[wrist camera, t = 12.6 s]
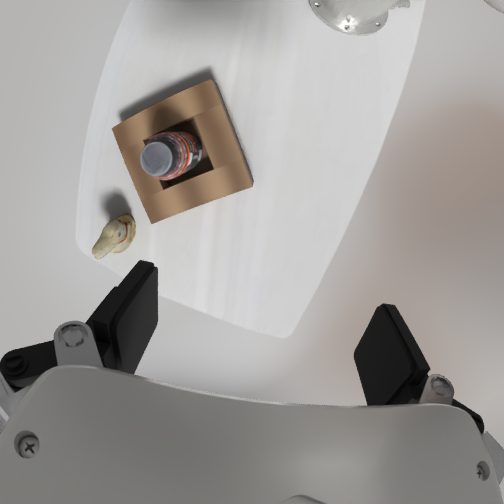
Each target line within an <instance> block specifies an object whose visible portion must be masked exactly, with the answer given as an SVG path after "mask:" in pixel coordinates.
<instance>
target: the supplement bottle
mask: <svg viewBox="0 0 504 504" xmlns="http://www.w3.org/2000/svg"><path fill="white" fill-rule="evenodd" d="M202 153H203V148H202V144H201V142H200V140H199V139H198V138H197V137H196V136H195V135H194V134H192V133H189V132H177V131H176V132H165V133H159V134H157V135H155V136H153V137H152V138H151V139H150V140H149V141H148V142H147V143H146V145H145V147H144V149H143V150H142V152H141V156H140V163H141V166H142V168H143V170H144V171H145V172H146V173H147V174H149V175H151V176H153V177H154V178H156V179H160V180H170V179H173V178H175V177H178V176H179V175H181V174H183V173H185V172H187V171H189V170H191V169H192V168H194V167H195V166H196V165H197V164H198V163H199V162H200V160H201V157H202Z"/></svg>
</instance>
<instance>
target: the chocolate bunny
mask: <svg viewBox="0 0 504 504" xmlns="http://www.w3.org/2000/svg"><path fill="white" fill-rule="evenodd" d="M135 228H136V225H135V221H134V219H133V218H132V217H131V216H130V215H128V214H127V215H122V216H121V217H118V218H116V219H114V220H112V221H110V222H109V223H108V224H107V225H106V226H105V227H104V229H103V231H102V234H101V236H100V238H99V239H98V241H97V242H96V243H95V245H94V247H93V249H92V254H93V255H95V259H97V260H98V259H101V258H102V257H104V256H105V255H106V254H108V253H109V252H112V253H120V252H122V251H124V250H125V249H127V248H128V247H129V245H130V244H131V242H132V241H133V238H134V236H135Z"/></svg>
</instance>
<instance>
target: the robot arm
mask: <svg viewBox="0 0 504 504" xmlns="http://www.w3.org/2000/svg"><path fill="white" fill-rule="evenodd" d="M309 1H310V5H311V7H312V9H313V10H314V12H315V13H316V15H317V16H318V17H319V18H320V19H321V20H322V21H323V22H325V23H326V24H327V25H329V26H330V27H332V28H334V29H336V30H338V31H340V32H343V33H346V34H350V35H357V36H362V35H370V34H373V33H375V32H377V31H378V30H380V29H381V28H382V27H383V26H384V25H385V23H386V21H387V18H388V10H389V9H394V8H395V7H400V8H409V7H410V2H409V0H309ZM484 1H485V2H486V3H488V4H489V5H490V6H491V7H493V8H494V9H496V10H497V11H499V12H502V13H504V0H484ZM316 6H318V7H316ZM376 25H377V26H376ZM345 28H346V29H347V30H346V29H345ZM157 322H158V268H157V267H154V263H152V262H147V261H143V260H140V261H138V263H137V264H136V265H135V266H134V267H133V269H132V270H131V271H130V272H129V273H128V275H127V276H126V277H125V278H124V279H123V281H122V282H121V283H120V284H119V286H118V287H114V288H113V289H112V290H111V291H110V293H109V294H108V295H107V296H106V297H105V299H104V300H103V301H102V302H101V304H100V305H99V306H98V307H97V309H96V310H95V311H94V313H93V314H92V315H91V316H90V318H89V319H88V320H87V322H86V323H83V322H80V321H70V322H66V323H64V324H62V325H60V326H59V327H58V328H57V329H56V331H55V333H54V340H52V341H48V342H44V343H40V344H36V345H32V346H28V347H24V348H20V349H15V350H12V351H9V352H8V353H6V354H5V355H4V356H3V358H2V359H1V362H0V504H503V500H502V495H501V491H500V487H499V484H500V482H501V481H502V479H503V477H504V449H503V448H502V447H501V446H500V444H499V443H498V442H497V441H496V440H495V439H494V438H493V437H492V436H491V435H490V434H489V433H488V432H487V431H486V432H485V433H484V423H483V420H482V418H481V416H480V415H478V414H476V413H475V412H474V411H472V410H471V409H469V408H467V407H466V406H464V405H463V404H461V403H459V402H458V401H456V400H455V399H453V396H454V388H453V386H452V384H451V382H450V381H449V380H448V379H447V378H445V377H444V376H442V375H440V374H432V375H430V376H428V374H427V373H428V372H429V370H430V367H429V365H428V363H427V361H426V360H425V357H424V355H423V354H422V352H421V350H420V348H419V346H418V344H417V343H416V341H415V339H414V337H413V335H412V334H411V332H410V330H409V328H408V327H407V325H406V323H405V321H404V320H403V318H402V316H401V315H400V313H399V311H398V310H397V308H396V306H395V305H391V304H382V305H380V306H378V307H377V308H376V310H375V313H374V315H373V317H372V319H371V321H370V323H369V325H368V327H367V328H366V330H365V332H364V334H363V336H362V338H361V340H360V342H359V344H358V346H357V347H356V349H355V352H354V360H355V363H356V366H357V370H358V373H359V377H360V380H361V383H362V387H363V390H364V394H365V398H366V401H367V405H368V406H335V405H334V406H333V405H311V404H296V403H284V402H273V401H265V400H256V399H249V398H242V397H235V396H229V395H223V394H217V393H212V392H206V391H201V390H196V389H192V388H187V387H182V386H178V385H174V384H169V383H165V382H160V381H157V380H153V379H148V378H145V377H141V376H137V375H134V373H135V370H136V368H137V366H138V364H139V362H140V360H141V358H142V355H143V353H144V351H145V349H146V347H147V345H148V343H149V341H150V339H151V337H152V335H153V333H154V330H155V328H156V326H157Z"/></svg>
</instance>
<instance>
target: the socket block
mask: <svg viewBox="0 0 504 504" xmlns="http://www.w3.org/2000/svg"><path fill="white" fill-rule="evenodd" d="M112 130H113V133H114V136H115V138H116V141H117V144H118V146H119V149H120V151H121V154H122V156H123V159H124V161H125V164H126V166H127V169H128V171H129V174H130V176H131V179H132V181H133V183H134V186H135V188H136V190H137V193H138V195H139V197H140V199H141V202H142V204H143V206H144V208H145V211H146V213H147V215H148V217H149V219H150V222H151V224H153V223H156V222H158V221H161V220H163V219H166V218H168V217H171V216H173V215H176V214H178V213H181V212H184V211H186V210H189V209H192V208H194V207H197V206H200V205H202V204H205V203H208V202H210V201H213V200H216V199H219V198H222V197H224V196H227V195H230V194H233V193H236V192H239V191H242V190H245V189H247V188H250V187H252V186H253V182H254V181H253V178H252V176H251V173H250V170H249V167H248V165H247V162H246V159H245V157H244V154H243V151H242V149H241V146H240V143H239V141H238V138H237V135H236V133H235V130H234V127H233V125H232V122H231V120H230V117H229V114H228V112H227V109H226V107H225V104H224V102H223V99H222V96H221V94H220V91H219V89H218V86H217V84H216V83H215V82H214V81H213V80H212V79H209V80H207V81H204V82H202V83H200V84H197V85H195V86H193V87H190V88H188V89H186V90H183V91H181V92H179V93H177V94H175V95H173V96H171V97H168V98H166V99H164V100H162V101H160V102H158V103H156V104H154V105H152V106H150V107H149V108H147V109H145V110H143V111H141V112H139V113H137V114H136V115H134V116H132V117H130V118H128V119H127V120H125V121H123V122H122V123H120V124H118V125H117V126H115V127H113V128H112ZM176 131H177V132H189V133H192V134H194V135H195V136H196V137H197V138H198V139H199V140H200V142H201V144H202V148H203V153H202V157H201V160H200V162H199V163H198V164H197V165H196V166H195V167H194V168H192V169H191V170H189V171H187V172H185V173H183V174H181V175H179V176H178V177H175V178H173V179H170V180H160V179H156V178H154V177H153V176H151V175H149V174H147V173H146V172H145V171H144V170H143V168H142V166H141V163H140V156H141V152H142V150H143V149H144V147H145V145H146V143H147V142H148V141H149V140H150V139H151V138H152V137H153V136H155V135H157V134H159V133H165V132H176Z"/></svg>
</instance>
